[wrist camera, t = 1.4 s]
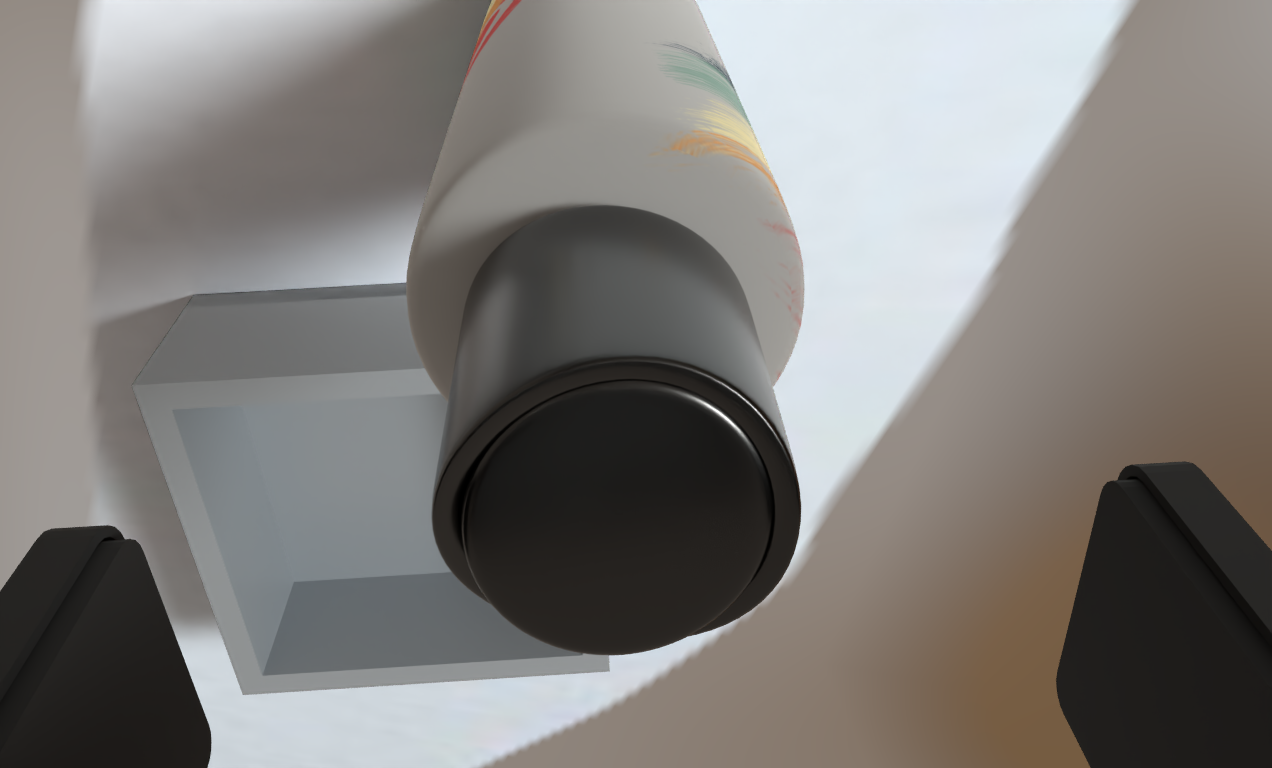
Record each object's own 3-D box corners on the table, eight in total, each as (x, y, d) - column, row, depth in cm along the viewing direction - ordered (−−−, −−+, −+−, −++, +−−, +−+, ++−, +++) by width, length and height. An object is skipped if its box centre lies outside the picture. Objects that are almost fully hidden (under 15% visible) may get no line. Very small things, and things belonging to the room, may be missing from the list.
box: (193, 295, 30) (131, 385, 26) (584, 272, 31) (585, 358, 26) (281, 584, 37) (242, 694, 32) (606, 564, 37) (609, 671, 33)
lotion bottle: (456, 99, 28) (266, 668, 11) (530, -115, 25) (431, 199, 8) (648, 176, 29) (744, 785, 12) (738, -18, 26) (1020, 420, 10)
